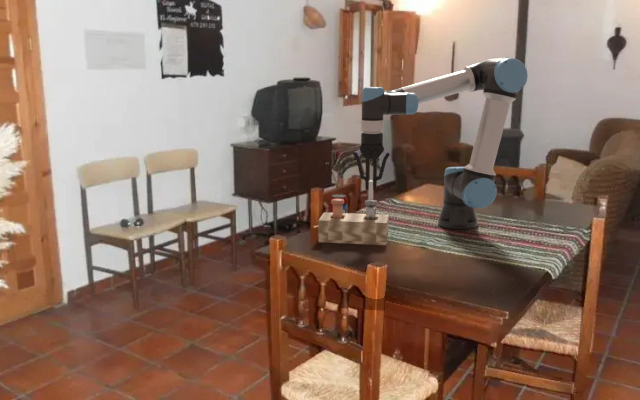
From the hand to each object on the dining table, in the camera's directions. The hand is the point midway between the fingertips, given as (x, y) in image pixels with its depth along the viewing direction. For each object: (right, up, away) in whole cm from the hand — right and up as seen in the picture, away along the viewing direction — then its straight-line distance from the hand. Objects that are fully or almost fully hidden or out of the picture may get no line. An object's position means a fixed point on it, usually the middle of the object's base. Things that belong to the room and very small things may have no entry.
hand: (370, 198), depth 215 cm
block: (-6, -15, +4) cm, 16 cm away
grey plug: (0, -9, +2) cm, 9 cm away
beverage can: (-11, -11, +23) cm, 28 cm away
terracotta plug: (-12, -8, +4) cm, 15 cm away
